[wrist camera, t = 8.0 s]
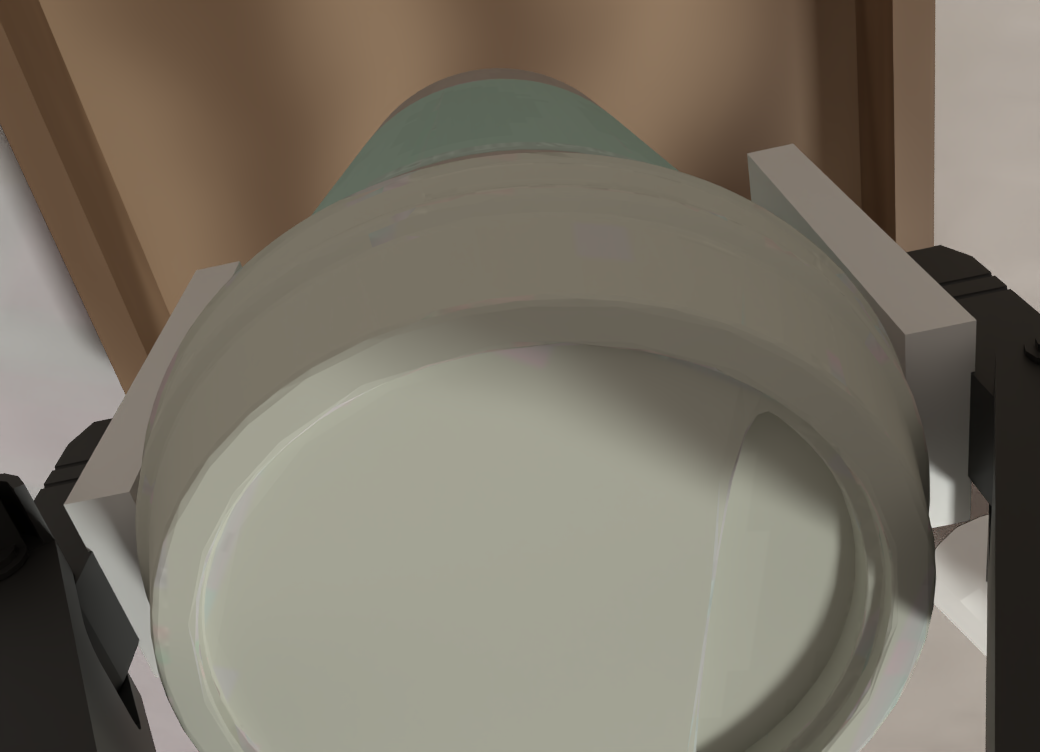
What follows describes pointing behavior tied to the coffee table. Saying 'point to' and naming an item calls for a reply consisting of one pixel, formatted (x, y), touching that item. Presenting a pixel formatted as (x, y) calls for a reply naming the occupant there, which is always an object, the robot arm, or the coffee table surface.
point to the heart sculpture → (964, 580)
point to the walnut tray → (396, 77)
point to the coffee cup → (534, 461)
